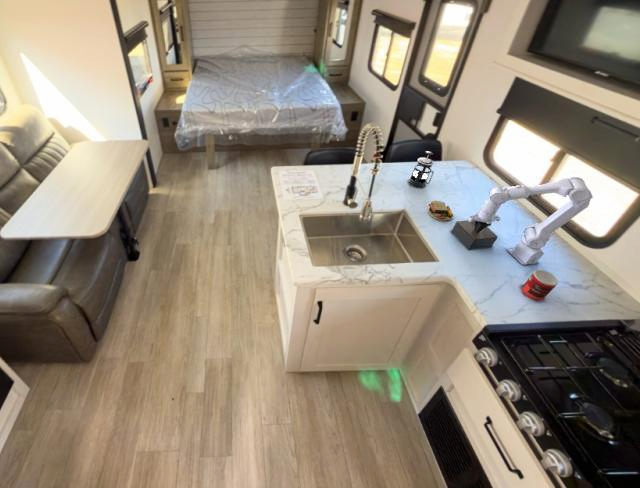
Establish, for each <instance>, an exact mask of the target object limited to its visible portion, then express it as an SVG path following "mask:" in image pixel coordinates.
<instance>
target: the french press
mask: <svg viewBox="0 0 640 488" xmlns="http://www.w3.org/2000/svg"><path fill="white" fill-rule="evenodd" d="M424 154H426V155H427V156H426V157H418V158H417V164H415V165H414V167H413V171H412V174H411V176H410V179H409V180H408V184H409V185H411V186H412V187H414V188H418V189H421V188H425V186H426V184H427V185H429V184H430V183H431V181H432V178H433V176H434V173H435V171H434V170H432V167H433V165H434V164H435V162H434V160H432V159H431V158H429V156H432V155H434V153H433V152H432V151H428V150H426V151H425V153H424ZM417 167H422V169H421V170H420V169H418V168H417ZM427 169H428V170H429V171H426V170H427ZM430 174H431V175H430ZM429 176H430V177H429ZM428 179H429V181H428Z"/></svg>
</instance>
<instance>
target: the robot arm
mask: <svg viewBox="0 0 640 488" xmlns="http://www.w3.org/2000/svg"><path fill="white" fill-rule="evenodd" d="M488 193H489V195H488V197H487V198H486V199H487V200H486V199H485V200H486V202H485V201H484V204H483V205H482V206H483V207H482V206H481V207H482V209H481V211H480V212H479V214H477V215H476V214H473V215H471V216H468V218H467V220H468V221H469V222H472V221H475V228H474V230H475V231H476V232H477V233H479V232H480V231H482V230H483V229H484V228H486V227H490V226H491V225H492V224H493V222H495V221H496V222H500V220H501V219H502V218H501V217H500V216H499V215H496V214H497V213H498V211H499V209H500V208H501V206H502V205H503V204H505V203H507V202H509V201H514V200H522V199H528V198H529V197H530V196H533V195H545V194H557V195H559V196H560V197H563V198H567V196H568V198H569V201H567V202H566V203H565V204H563V205H562V206H561V207H559V208H558V209H557V210H555V212H553V213H552V214H550V215H549V216H548V217H546V218H545V219H544V220H543V221H541V222H540V223H534V224H532V225H530V226H526V227H525V228H524V230H523V236H522V237H521V238H520V239H519V241H518V242H517V244H516V245H515V246H514V248H509V249H507V252H508V253H509V254H511V256H512V257H513V258H515V259H516V260H517V261H518V262H519V263H520V264H522V265H523V266H524V265H533V264H538V261H539V260H540V259H542V256H543V255H544V251H543V250H542V248H544V247H545V246H546V245H547V242H549V241H550V239H551V236H552V234H553V232H556V231H557V230H558V229H559V228H561V227H562V226H563V225H565V224H567V222H569V221H570V220H572V219H574V217H576V216H577V215H579V214H580V213H581V212H583V211H585V209H587V208H588V207H589V206H590V204H591V200H592V199H593V198H594V197H593V194H592V192H591V190H590V189H589V188H588V186H587V184H586V182H585V180H584V179H583V178H581V177H578V176H577V177H576V176H573V177H567V178H566V177H565V178H562V179H559V180H557V181H552V182H548V183H543V184H538V185H532V186H526V185H523V184H517V185H516V186H509V187H493V188H492V189H489V191H488Z"/></svg>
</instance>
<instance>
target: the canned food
mask: <svg viewBox="0 0 640 488" xmlns="http://www.w3.org/2000/svg"><path fill="white" fill-rule="evenodd" d="M558 283H559V280H558V279H557V277H556V276H555V275H554V274H552V273H551V272H549V271H546V270H545V269H536V270H535V271H533V273H532V274H531V275H530V276H529V278H528V279H527V280H526V281H525V282H524V283H523V285H522V286H521V291H522V293H523V294H524V295H525V296H526V297H527V298H528V299H531V300H532V301H536V302H537V301H543V300H544V299H546V297H547V296H548V295H549V294H550V293H551V292H552V291H553V290H554V289H555V288H556V286H557V285H558Z"/></svg>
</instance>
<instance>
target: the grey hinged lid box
mask: <svg viewBox="0 0 640 488" xmlns="http://www.w3.org/2000/svg"><path fill="white" fill-rule="evenodd" d="M470 223H471V224H472V225H473V226H474V227H475V221H472V222H470ZM451 233H452V234H453V235H454V236H455V237H456V238H457V239H458V240H459V241H460V242H461V243H462V245H464V247H466V249H467V250H475V249H484V248H492V247H493V245H494V244H495V242H496V241H497V239H498V235H497V234H496V233H495V232H494V231H492V230H491V229H490V228H489V226H487V227H486V228H484V229H483V230H482V231H480V233H482V234H483V235H484V236H485V237H486V238H484V239H473V238H472V237H471V236H470V235H469V234H468V233H467V232H466V231H465V230H464V229H463V228H462V227H461V226H460V225H459V224H458V223H457V221H456V222H455V223H454V225H453V227H452V229H451Z"/></svg>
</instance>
